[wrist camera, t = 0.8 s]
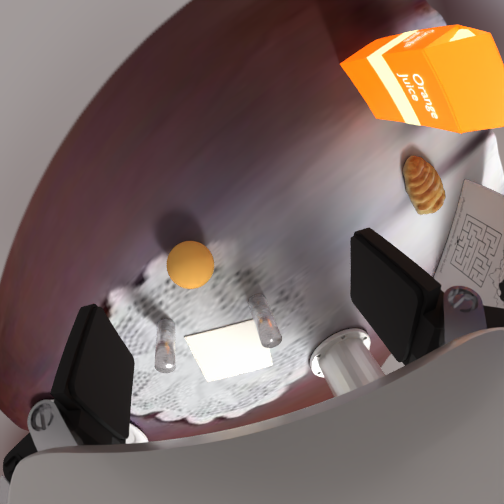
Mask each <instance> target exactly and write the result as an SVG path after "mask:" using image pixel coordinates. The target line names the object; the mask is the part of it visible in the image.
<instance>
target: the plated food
mask: <svg viewBox="0 0 504 504" xmlns="http://www.w3.org/2000/svg"><path fill="white" fill-rule="evenodd" d="M51 401H53V402H54V400H51ZM144 442H148V439H147V437H146V436H145V434H144V433H143V432H142V431H141V430H139V429H138V428H137V427H135V426H134V425H132V424H131V423H130V427H129V437H128V438H127V439H126V444H130V443H144Z"/></svg>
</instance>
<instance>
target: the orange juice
mask: <svg viewBox="0 0 504 504" xmlns="http://www.w3.org/2000/svg"><path fill="white" fill-rule="evenodd" d="M340 65H341V67H342V68H343V69H344V71H345V72H346V73H347V75H348V76H349V78H350V79H351V80H352V82H353V83H354V85H355V86H356V88H357V89H358V91H359V92H360V94H361V95H362V97H363V98H364V100H365V101H366V103H367V104H368V106H369V107H370V109H371V111H372V112H373V114H374V115H375V117H376V119H384V120H392V121H399V122H405V123H409V124H415V125H420V126H421V125H423V126H428V127H434V128H439V129H443V130H448V131H452V132H457V133H461V134H462V133H465V132H471V131H477V130H484V129H491V128H498V127H504V65H503V62H502V60H501V57H500V55H499V52H498V50H497V47H496V45H495V42H494V40H493V38H492V36H491V34H490V33H488V32H484V31H481V30H477V29H473V28H469V27H465V26H461V25H450V26H442V27H435V28H428V29H423V30H415V31H410V32H405V33H402V34H397V35H393V36H389V37H385V38H381V39H377V40H375V41H373V42H371V43H370V44H368V45H367V46H365V47H364V48H362V49H361V50H359V51H358V52H356V53H355V54H353V55H352V56H350V57H349V58H347V59H346V60H345V61H343V62H342V63H340Z"/></svg>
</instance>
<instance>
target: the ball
mask: <svg viewBox="0 0 504 504" xmlns="http://www.w3.org/2000/svg"><path fill="white" fill-rule="evenodd" d="M213 270H214V260H213V256H212V254H211V252H210V251H209V249H208V248H207V247H206V246H204V245H203V244H201V243H199V242H196V241H185V242H182V243H179V244H178V245H176V246H175V247H174V248H173V249H172V250H171V252H170V253H169V255H168V259H167V271H168V274H169V276H170V278H171V279H172V281H173V282H174V283H176V284H177V285H178V286H180V287H183V288H187V289H194V288H198V287H201V286H203V285H204V284H205V283H207V282H208V280H209V279H210V278H211V276H212V274H213Z"/></svg>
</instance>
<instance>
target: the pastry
mask: <svg viewBox="0 0 504 504" xmlns="http://www.w3.org/2000/svg"><path fill="white" fill-rule="evenodd" d="M403 175H404V177H405V185H406V192H407V193H408V195H409V197H410V199H411V202H412V204H413V206H414V207H415V209H416V211H417V213H418V214H420V215H423V214H429V213H435V212H436V211H437V210H439V209H440V208H441V206H442V205H443V203H444V199H445V191H444V189H443V184H442V181H441V178H440V177H439V175H438V173H437V171H436V170H435V169H434V167H433V166H431V165H430V164H429V163H428V162H426V161H425V160H424V159H423V158H422V157H417V156H413V155H412V156H410V157H409V158H408V159H407V161H406V162H405V165H404V168H403Z"/></svg>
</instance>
